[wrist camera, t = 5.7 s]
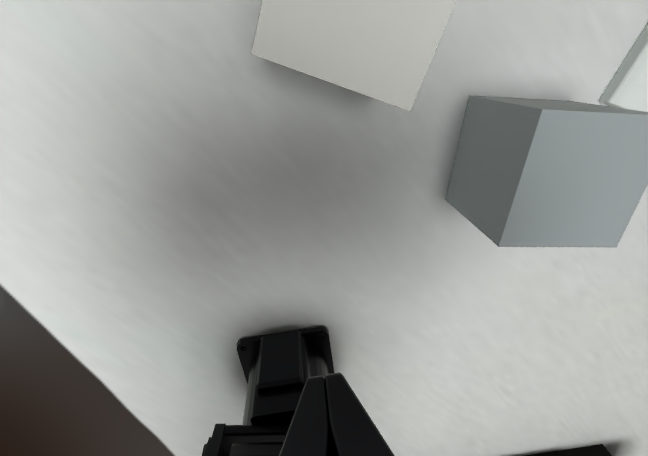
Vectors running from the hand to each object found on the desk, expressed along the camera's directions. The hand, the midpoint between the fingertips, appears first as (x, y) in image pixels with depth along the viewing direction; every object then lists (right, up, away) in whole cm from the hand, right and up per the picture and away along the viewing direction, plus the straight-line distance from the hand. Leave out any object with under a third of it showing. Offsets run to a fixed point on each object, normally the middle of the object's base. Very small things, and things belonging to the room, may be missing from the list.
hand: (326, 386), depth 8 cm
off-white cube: (+1, +14, +8) cm, 16 cm away
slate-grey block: (+11, +8, +12) cm, 18 cm away
